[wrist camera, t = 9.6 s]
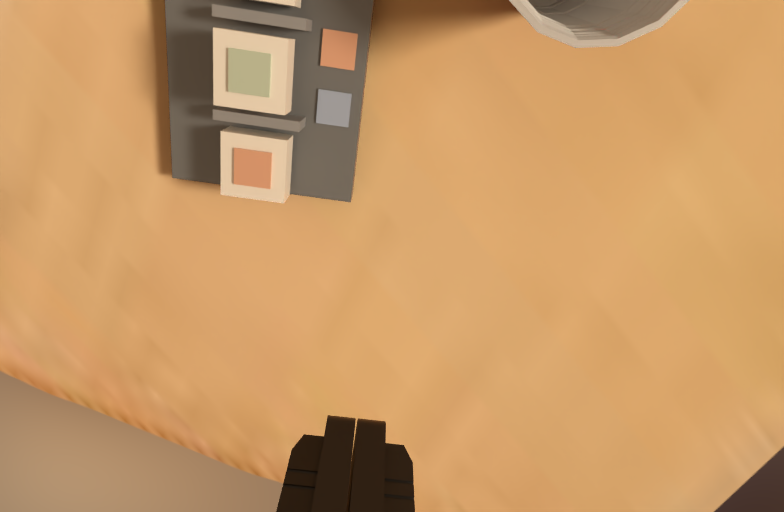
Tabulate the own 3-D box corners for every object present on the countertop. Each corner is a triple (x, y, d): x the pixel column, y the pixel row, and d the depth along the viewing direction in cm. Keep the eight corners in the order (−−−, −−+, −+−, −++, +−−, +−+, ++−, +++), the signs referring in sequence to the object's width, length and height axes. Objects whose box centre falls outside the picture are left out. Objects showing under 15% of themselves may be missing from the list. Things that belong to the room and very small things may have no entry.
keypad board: (170, -93, 32) (141, -110, 28) (380, -58, 33) (379, -70, 29) (180, 172, 39) (158, 186, 36) (352, 196, 40) (347, 212, 36)
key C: (236, 122, 37) (219, 131, 33) (297, 131, 37) (286, 141, 33) (236, 181, 39) (219, 195, 35) (293, 188, 39) (283, 204, 35)
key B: (231, 28, 33) (211, 27, 29) (299, 39, 33) (287, 38, 30) (231, 98, 35) (212, 105, 31) (295, 108, 35) (284, 115, 31)
